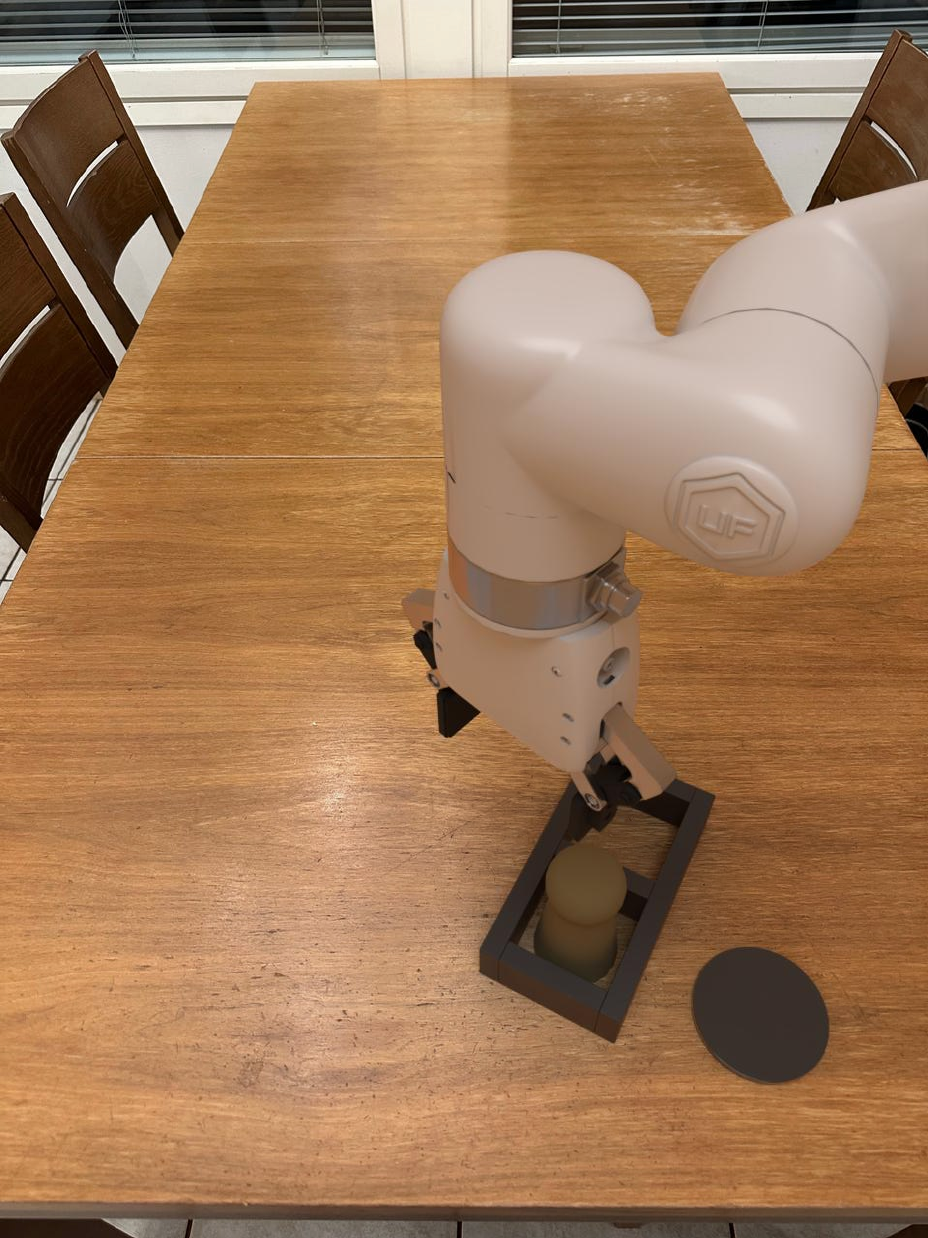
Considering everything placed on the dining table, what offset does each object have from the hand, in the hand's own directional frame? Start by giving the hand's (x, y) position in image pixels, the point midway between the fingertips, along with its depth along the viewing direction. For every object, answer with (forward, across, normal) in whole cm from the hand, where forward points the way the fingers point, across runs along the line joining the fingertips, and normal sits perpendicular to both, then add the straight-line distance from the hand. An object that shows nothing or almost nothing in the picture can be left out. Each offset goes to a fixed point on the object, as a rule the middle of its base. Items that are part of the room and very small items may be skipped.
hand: (523, 770), depth 53 cm
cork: (+21, -4, -2) cm, 21 cm away
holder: (+20, -3, -6) cm, 22 cm away
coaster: (+21, -16, -7) cm, 27 cm away
